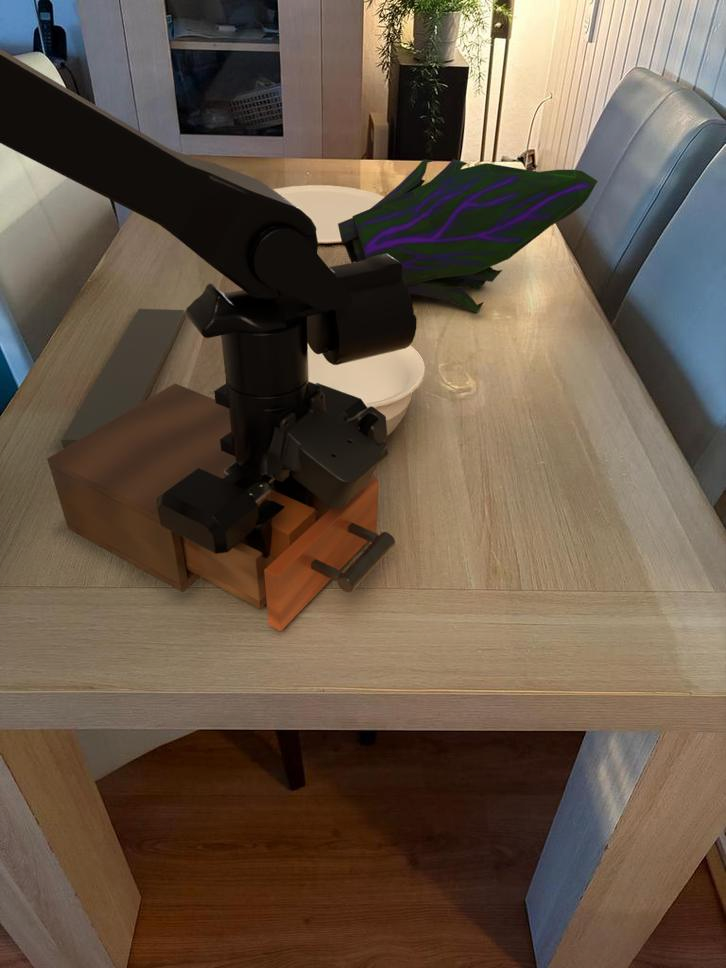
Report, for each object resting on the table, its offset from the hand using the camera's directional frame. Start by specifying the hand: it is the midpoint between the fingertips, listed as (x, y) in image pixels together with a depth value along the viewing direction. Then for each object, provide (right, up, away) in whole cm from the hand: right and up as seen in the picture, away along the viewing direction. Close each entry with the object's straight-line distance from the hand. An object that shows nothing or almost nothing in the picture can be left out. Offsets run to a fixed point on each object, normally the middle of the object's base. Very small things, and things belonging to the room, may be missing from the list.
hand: (278, 541), depth 61 cm
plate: (-1, +51, +68) cm, 85 cm away
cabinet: (-9, +2, +6) cm, 11 cm away
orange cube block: (0, 0, 0) cm, 0 cm away
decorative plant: (+18, +31, +44) cm, 57 cm away
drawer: (+1, -1, 0) cm, 2 cm away
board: (-20, +18, +25) cm, 36 cm away
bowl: (+5, +10, +16) cm, 19 cm away
